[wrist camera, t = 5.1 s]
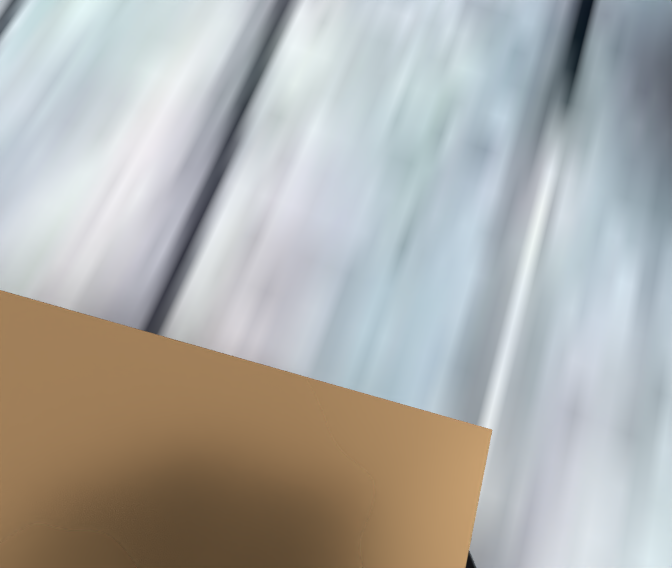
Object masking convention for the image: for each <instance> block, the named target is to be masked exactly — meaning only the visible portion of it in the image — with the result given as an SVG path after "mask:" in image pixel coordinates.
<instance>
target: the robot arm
mask: <svg viewBox="0 0 672 568" xmlns="http://www.w3.org/2000/svg"><path fill="white" fill-rule="evenodd" d="M465 568H476V566H475V563H474V561H473V558H472V556H471V554H470V551H469V552H468V557H467V562H466V567H465Z"/></svg>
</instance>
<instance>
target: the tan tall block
mask: <svg viewBox="0 0 672 568" xmlns="http://www.w3.org/2000/svg"><path fill="white" fill-rule="evenodd" d="M491 434H492V430H491V429H488V428H484V427H481V426H477V425H474V424H470V423H467V422H463V421H460V420H456V419H452V418H449V417H445V416H442V415H438V414H435V413H431V412H428V411H424V410H421V409H417V408H414V407H410V406H407V405H403V404H400V403H396V402H393V401H389V400H385V399H382V398H378V397H375V396H371V395H368V394H364V393H361V392H357V391H354V390H350V389H347V388H343V387H340V386H336V385H333V384H329V383H326V382H322V381H319V380H315V379H311V378H308V377H304V376H301V375H297V374H294V373H290V372H287V371H283V370H280V369H276V368H273V367H269V366H266V365H262V364H259V363H255V362H252V361H248V360H245V359H241V358H237V357H234V356H230V355H227V354H223V353H220V352H216V351H213V350H209V349H206V348H202V347H199V346H195V345H192V344H188V343H185V342H181V341H178V340H174V339H170V338H167V337H163V336H160V335H156V334H153V333H149V332H146V331H142V330H139V329H135V328H132V327H128V326H125V325H121V324H118V323H114V322H111V321H107V320H104V319H100V318H96V317H93V316H89V315H86V314H82V313H79V312H75V311H72V310H68V309H65V308H61V307H58V306H54V305H51V304H47V303H44V302H40V301H37V300H33V299H29V298H26V297H22V296H19V295H15V294H12V293H8V292H5V291H1V290H0V568H465V567H466V562H467V557H468V552H469V547H470V542H471V537H472V531H473V526H474V521H475V516H476V511H477V506H478V501H479V495H480V490H481V485H482V480H483V475H484V470H485V465H486V460H487V454H488V449H489V444H490V439H491Z"/></svg>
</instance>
